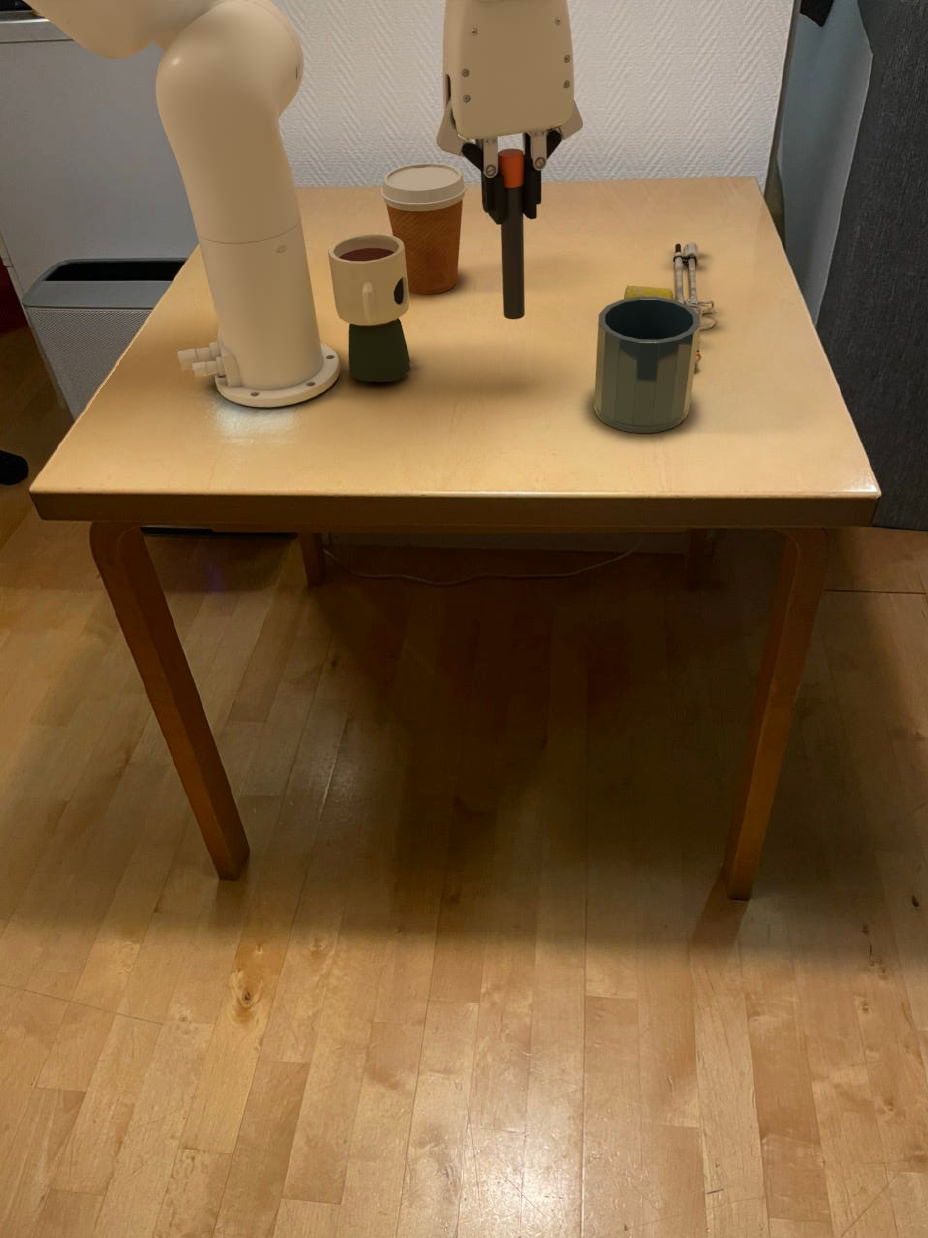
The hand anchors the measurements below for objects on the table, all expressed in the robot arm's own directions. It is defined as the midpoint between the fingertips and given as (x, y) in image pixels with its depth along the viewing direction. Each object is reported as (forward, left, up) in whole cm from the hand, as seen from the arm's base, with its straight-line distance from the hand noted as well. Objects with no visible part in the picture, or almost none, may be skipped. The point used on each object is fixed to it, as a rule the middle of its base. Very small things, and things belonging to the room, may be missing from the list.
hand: (511, 214), depth 85 cm
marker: (0, 0, -9) cm, 9 cm away
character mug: (-12, +6, -17) cm, 21 cm away
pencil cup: (+10, -9, -16) cm, 21 cm away
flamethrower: (+21, +9, -17) cm, 28 cm away
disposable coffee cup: (-2, +25, -17) cm, 30 cm away
